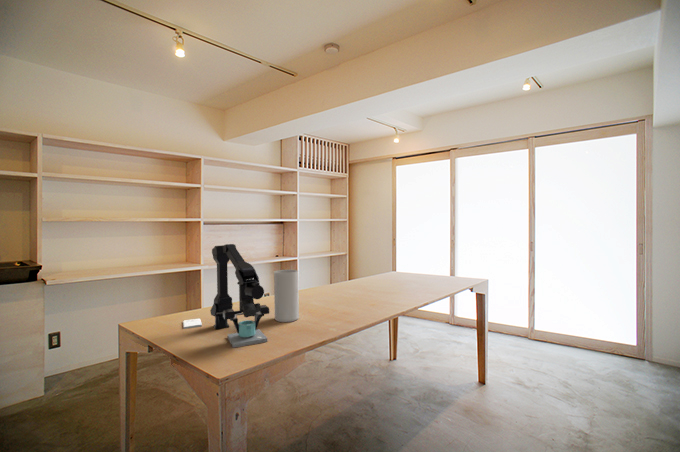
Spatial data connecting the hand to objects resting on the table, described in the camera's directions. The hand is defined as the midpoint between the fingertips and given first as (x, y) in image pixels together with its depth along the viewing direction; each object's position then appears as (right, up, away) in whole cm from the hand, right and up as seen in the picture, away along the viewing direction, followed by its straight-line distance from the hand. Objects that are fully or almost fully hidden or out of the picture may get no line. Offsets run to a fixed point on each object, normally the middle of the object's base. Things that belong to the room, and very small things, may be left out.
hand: (246, 331), depth 144 cm
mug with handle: (0, -1, 0) cm, 1 cm away
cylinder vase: (+12, -3, +30) cm, 33 cm away
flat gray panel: (0, -3, 0) cm, 3 cm away
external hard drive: (-34, -5, +24) cm, 42 cm away
